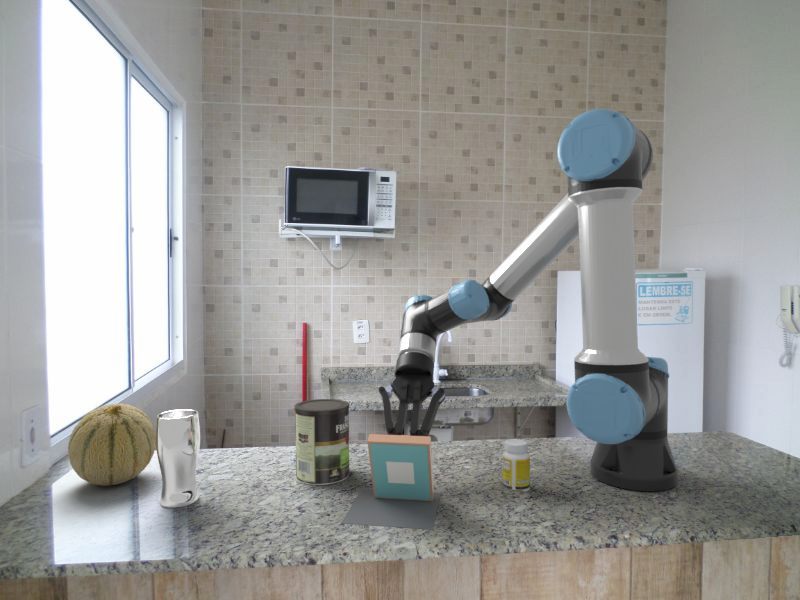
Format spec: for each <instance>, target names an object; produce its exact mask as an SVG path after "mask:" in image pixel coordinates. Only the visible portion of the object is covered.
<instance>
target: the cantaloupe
mask: <svg viewBox="0 0 800 600" xmlns="http://www.w3.org/2000/svg"><path fill="white" fill-rule="evenodd" d="M67 447H68V448H67V452H68V454H67V455H68V459H69V462H70V466H71V468H72V469H73V471H74V472H75V474H76V475H77V476H78V477H79V478H80V479H82V480H84V481H85V482H87V483H89V484H93V485H95V486H96V485H98V486H105V487H107V486H116V485H119V484H120V485H121V484H123V483H126V482H128V481H130V480H132V479H134V478H136V477H137V476H139V475H140V474H141V473H142V472H143V471H144V470H145V469H146V468H147V467H148V465H149V464H150V462H151V461H152V459H153V456H154V454H155V450H156V430H155V429H154V425H153V422H152V420H151V419H150V417H149V416H148V415H147V414H146V413H145V412H144V411H143V410H141V409H140V408H138V407H135V406H132V405H131V404H127V403H114V404H113V403H112V404H106V405H102V406H99V407H98V408H95V409H93V410H90V411H89V412H87V413H86V414H85V415H84V416H82V418H81V419H80V420H79V422H78V423H77V424H76V425H75V426H74V428H73V430H72V431H71V434H70V435H69V441H68V446H67Z"/></svg>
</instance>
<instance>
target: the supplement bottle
mask: <svg viewBox="0 0 800 600" xmlns="http://www.w3.org/2000/svg"><path fill="white" fill-rule="evenodd" d="M528 448H529V447H528V441H527V440H525V439H519V438H508V439H506V440H504V451H503V452H502V485H503V488H506V489H509V490H513V491H522V493H526V492H528V491H529V490H530V489H531V459H530V454H529V452H528Z"/></svg>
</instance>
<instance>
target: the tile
mask: <svg viewBox="0 0 800 600" xmlns="http://www.w3.org/2000/svg"><path fill="white" fill-rule="evenodd" d="M367 449H368V456H369V458H368V459H369V467H370V473H371V482H372V489H373V492H374V498H385V499H402V500H418V501H433V497H434V492H435V491H434V490H435V488H434V472H433V471H434V469H433V454H432V437H431V436H430V435H429V436H405V434H404V435H388V434H378V433H377V434H375V433H369V435H368V438H367Z"/></svg>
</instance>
